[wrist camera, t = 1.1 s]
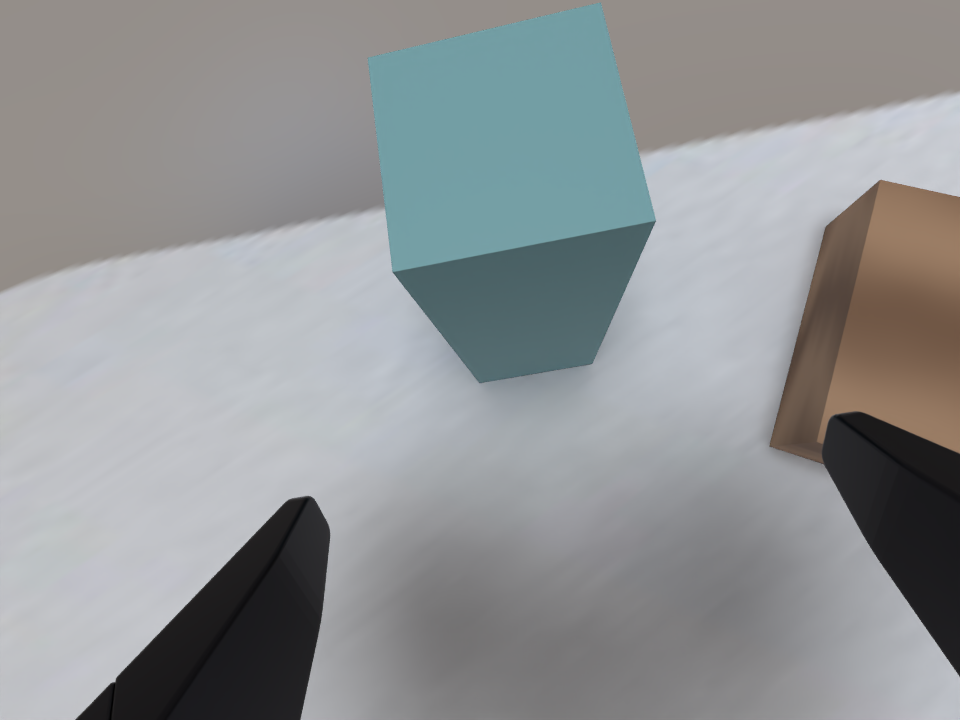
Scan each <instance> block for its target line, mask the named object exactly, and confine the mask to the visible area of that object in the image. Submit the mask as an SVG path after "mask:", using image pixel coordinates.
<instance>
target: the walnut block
mask: <svg viewBox="0 0 960 720" xmlns="http://www.w3.org/2000/svg"><path fill="white" fill-rule="evenodd" d="M853 411H860V412H863V413H866V414H869V415H871V416H873V417H876V418H878V419H880V420H883V421H885V422H887V423H890V424H892V425H894V426H897V427H899V428H901V429H904V430H906V431H908V432H911V433H913V434H915V435H918V436H920V437H922V438H925V439H927V440H929V441H932V442H934V443H936V444H939V445H941V446H943V447H946V448H948V449H951V450H953V451H955V452H958V453H960V197H957V196H952V195H947V194H943V193H938V192H934V191H929V190H924V189H920V188H915V187H911V186H906V185H902V184H897V183H892V182H888V181H883V180H880V181H878V182H877V183H876V184H875V185H874V186H873V187H871V188H870V189H869V190H868V191H867V192H866V193H864V194H863V195H862V196H861V197H860V198H859V199H857V200H856V201H855V202H854V203H853V204H852V205H851V206H849V207H848V208H847V209H846V210H845V211H844V212H842V213H841V214H840V215H839V216H838V217H837V218H835V219H834V220H833V221H832V222H831V223H830V224H828V225H827V226H826V228H825V232H824V236H823V240H822V244H821V248H820V251H819V255H818V259H817V263H816V267H815V271H814V275H813V279H812V282H811V286H810V290H809V294H808V298H807V302H806V306H805V310H804V314H803V317H802V321H801V325H800V329H799V333H798V337H797V341H796V345H795V349H794V352H793V356H792V360H791V364H790V368H789V372H788V376H787V380H786V383H785V387H784V391H783V395H782V399H781V403H780V407H779V411H778V415H777V418H776V422H775V426H774V430H773V434H772V438H771V442H770V447H773V448H776V449H779V450H782V451H785V452H788V453H792V454H795V455H798V456H801V457H804V458H807V459H810V460H813V461H816V462H819V463H822V464H824V462H823V460H822V446H823V442H824V437H825V433H826V429H827V424H828V421H829V419H830V417H831V416H832V415H835V414H840V413H846V412H853Z"/></svg>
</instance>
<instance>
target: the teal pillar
mask: <svg viewBox="0 0 960 720" xmlns="http://www.w3.org/2000/svg"><path fill="white" fill-rule="evenodd" d="M368 65H369V73H370V82H371V90H372V99H373V108H374V116H375V125H376V133H377V142H378V151H379V159H380V167H381V176H382V184H383V193H384V202H385V211H386V219H387V228H388V237H389V245H390V254H391V262H392V271H393V273H394V275H395V276H396V277H397V278H398V280H399V281H400V282H401V283H402V285H403V286H404V287H405V289H406V290H407V291H408V292H409V294H410V295H411V296H412V297H413V299H414V300H415V301H416V303H417V304H418V305H419V306H420V308H421V309H422V310H423V311H424V313H425V314H426V315H427V317H428V318H429V319H430V320H431V322H432V323H433V324H434V325H435V327H436V328H437V329H438V331H439V332H440V333H441V334H442V336H443V337H444V338H445V340H446V341H447V342H448V343H449V345H450V346H451V347H452V348H453V350H454V351H455V352H456V354H457V355H458V356H459V357H460V359H461V360H462V361H463V362H464V364H465V365H466V366H467V368H468V369H469V370H470V371H471V373H472V374H473V375H474V376H475V378H476V379H477V380H478V382H479V383H483V382H489V381H495V380H500V379H506V378H512V377H518V376H524V375H530V374H536V373H541V372H547V371H553V370H559V369H565V368H571V367H576V366H582V365H588V364H592V363H593V361H594V358H595V356H596V354H597V352H598V349H599V347H600V345H601V343H602V341H603V338H604V336H605V334H606V332H607V329H608V327H609V325H610V323H611V320H612V318H613V316H614V314H615V311H616V309H617V307H618V305H619V302H620V300H621V298H622V296H623V293H624V291H625V289H626V287H627V284H628V282H629V280H630V278H631V276H632V273H633V271H634V269H635V267H636V264H637V262H638V260H639V258H640V255H641V253H642V251H643V249H644V246H645V244H646V242H647V240H648V237H649V235H650V233H651V231H652V228H653V226H654V224H655V222H656V219H655V215H654V211H653V207H652V203H651V199H650V195H649V191H648V187H647V184H646V180H645V176H644V172H643V168H642V164H641V160H640V156H639V152H638V148H637V144H636V140H635V136H634V133H633V128H632V124H631V121H630V116H629V113H628V109H627V104H626V101H625V96H624V93H623V89H622V85H621V81H620V77H619V73H618V69H617V65H616V61H615V57H614V53H613V50H612V45H611V41H610V37H609V33H608V29H607V26H606V22H605V18H604V13H603V10H602V6H601V3H597V4H592V5H588V6H584V7H580V8H575V9H571V10H567V11H563V12H558V13H554V14H550V15H546V16H542V17H537V18H533V19H529V20H525V21H520V22H517V23H513V24H508V25H504V26H500V27H495V28H491V29H487V30H483V31H478V32H475V33H470V34H466V35H462V36H457V37H453V38H449V39H445V40H441V41H437V42H432V43H428V44H424V45H419V46H415V47H411V48H407V49H403V50H398V51H394V52H390V53H386V54H382V55H377V56H373V57H369V58H368Z"/></svg>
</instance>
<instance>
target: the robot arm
mask: <svg viewBox="0 0 960 720" xmlns="http://www.w3.org/2000/svg"><path fill="white" fill-rule="evenodd" d="M822 460H823V462H824V465H825V467H826V469H827V471H828V472H829V474H830V476H831V478H832V480H833V481H834V483H835V485H836V487H837V489H838V490H839V492H840V494H841V496H842V498H843V500H844V501H845V503H846V505H847V507H848V509H849V510H850V512H851V514H852V516H853V518H854V520H855V521H856V523H857V525H858V527H859V529H860V530H861V532H862V534H863V536H864V537H865V539H866V541H867V543H868V544H869V546H870V548H871V549H872V551H873V552H874V554H875V555H876V557H877V558H878V560H879V561H880V563H881V564H882V566H883V567H884V568H885V570H886V571H887V573H888V574H889V576H890V577H891V578H892V580H893V581H894V583H895V584H896V586H897V587H898V589H899V590H900V591H901V593H902V594H903V596H904V597H905V599H906V600H907V601H908V603H909V604H910V606H911V607H912V609H913V610H914V612H915V613H916V614H917V616H918V617H919V619H920V620H921V622H922V623H923V624H924V626H925V627H926V629H927V630H928V632H929V633H930V635H931V636H932V637H933V639H934V640H935V642H936V643H937V645H938V646H939V647H940V649H941V650H942V652H943V653H944V655H945V656H946V657H947V659H948V660H949V662H950V663H951V665H952V666H953V668H954V669H955V670H956V672H957V673H958V675H959V676H960V453H958V452H955V451H953V450H951V449H948V448H946V447H943V446H941V445H939V444H936V443H934V442H932V441H929V440H927V439H925V438H922V437H920V436H918V435H915V434H913V433H911V432H908V431H906V430H904V429H901V428H899V427H897V426H894V425H892V424H890V423H887V422H885V421H883V420H880V419H878V418H876V417H873V416H871V415H869V414H866V413H863V412H860V411H853V412H846V413H840V414H835V415H832V416H831V417H830V419H829V421H828V424H827V429H826V433H825V437H824V442H823V446H822ZM329 543H330V529H329V525H328V523H327V521H326V519H325V517H324V515H323V514H322V512H321V510H320V508H319V506H318V504H317V503H316V501H315V499H314V498H312V497H311V496H304V497H298V498H292V499H289V500H288V501H286V502H285V503H284V504H283V505H282V506H281V507H280V508H279V509H278V510H277V511H276V513H275V514H274V515H273V516H272V517H271V518H270V519H269V520H268V521H267V522H266V523H265V524H264V525H263V526H262V527H261V528H260V529H259V530H258V531H257V532H256V533H255V534H254V535H253V536H252V537H251V538H250V539H249V541H248V542H247V543H246V544H245V545H244V546H243V547H242V548H241V549H240V550H239V551H238V552H237V553H236V554H235V555H234V556H233V557H232V558H231V559H230V560H229V561H228V562H227V563H226V564H225V565H224V566H223V568H222V569H221V570H220V571H219V572H218V573H217V574H216V575H215V576H214V577H213V578H212V579H211V580H210V581H209V582H208V583H207V584H206V585H205V586H204V587H203V588H202V589H201V590H200V591H199V592H198V593H197V595H196V596H195V597H194V598H193V599H192V600H191V601H190V602H189V603H188V604H187V605H186V606H185V607H184V608H183V609H182V610H181V611H180V612H179V613H178V614H177V615H176V616H175V617H174V618H173V619H172V620H171V621H170V623H169V624H168V625H167V626H166V627H165V628H164V629H163V630H162V631H161V632H160V633H159V634H158V635H157V636H156V637H155V638H154V639H153V640H152V641H151V642H150V643H149V644H148V645H147V646H146V647H145V648H144V650H143V651H142V652H141V653H140V654H139V655H138V656H137V657H136V658H135V659H134V660H133V661H132V662H131V663H130V664H129V665H128V666H127V667H126V668H125V669H124V670H123V671H122V672H121V673H120V674H119V675H118V676H117V678H116V681H115V682H113V683H111V684H110V685H109V686H108V687H107V688H106V689H105V690H104V691H103V692H102V693H101V694H100V695H99V696H98V697H97V698H96V699H95V700H94V701H93V702H92V703H91V704H90V705H89V706H88V707H87V708H86V709H85V710H84V711H83V712H82V713H81V714H80V715H79V716H78V717H77V719H76V720H300V719H301V714H302V709H303V705H304V700H305V695H306V691H307V686H308V681H309V676H310V672H311V667H312V662H313V657H314V653H315V648H316V643H317V639H318V634H319V629H320V623H321V617H322V610H323V601H324V591H325V582H326V572H327V563H328V553H329Z"/></svg>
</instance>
